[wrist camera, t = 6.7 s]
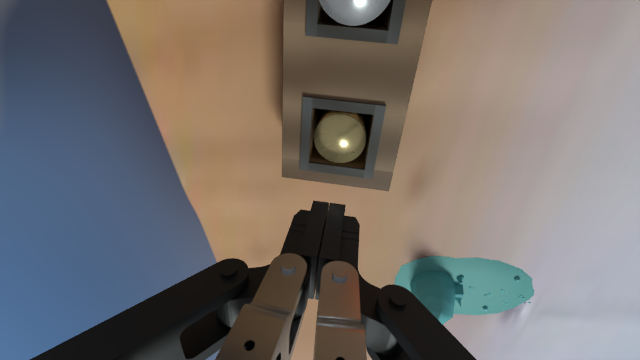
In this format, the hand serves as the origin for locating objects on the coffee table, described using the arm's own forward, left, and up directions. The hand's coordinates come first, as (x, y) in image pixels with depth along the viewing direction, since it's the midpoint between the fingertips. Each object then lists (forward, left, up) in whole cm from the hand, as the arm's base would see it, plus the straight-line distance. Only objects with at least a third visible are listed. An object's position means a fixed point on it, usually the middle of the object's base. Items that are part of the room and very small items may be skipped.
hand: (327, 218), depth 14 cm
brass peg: (+1, 0, -19) cm, 19 cm away
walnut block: (-4, 0, -19) cm, 19 cm away
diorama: (+23, +18, -19) cm, 35 cm away
